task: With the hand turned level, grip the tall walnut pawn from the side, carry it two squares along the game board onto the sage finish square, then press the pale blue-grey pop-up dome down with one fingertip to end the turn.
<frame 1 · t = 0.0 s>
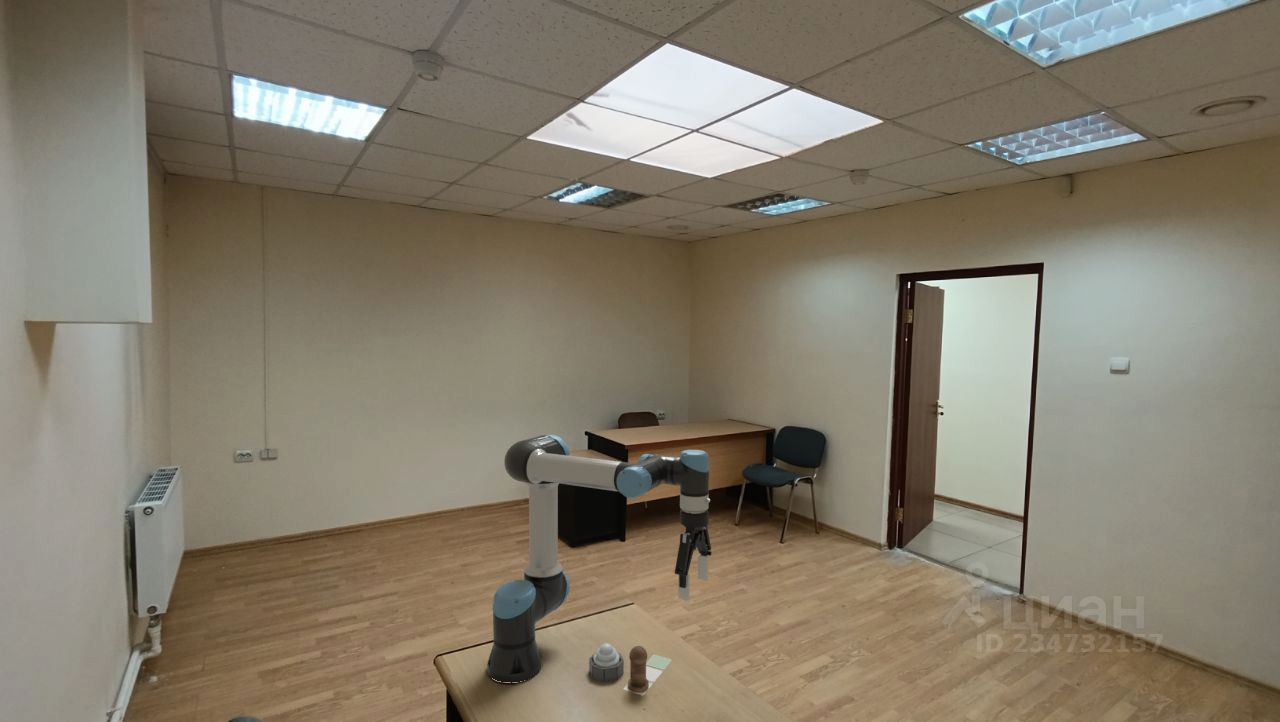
hand: (693, 588, 152), 28 cm above the table, tool pointing down, fingers open, 13 cm apart
dome base: (606, 675, 160), on the table
pop-up dome: (606, 653, 160), point 6 cm above the table, slide at 0.0 cm
game board: (648, 677, 159), on the table
walnut pawn: (638, 686, 154), point 1 cm above the table, touching game board
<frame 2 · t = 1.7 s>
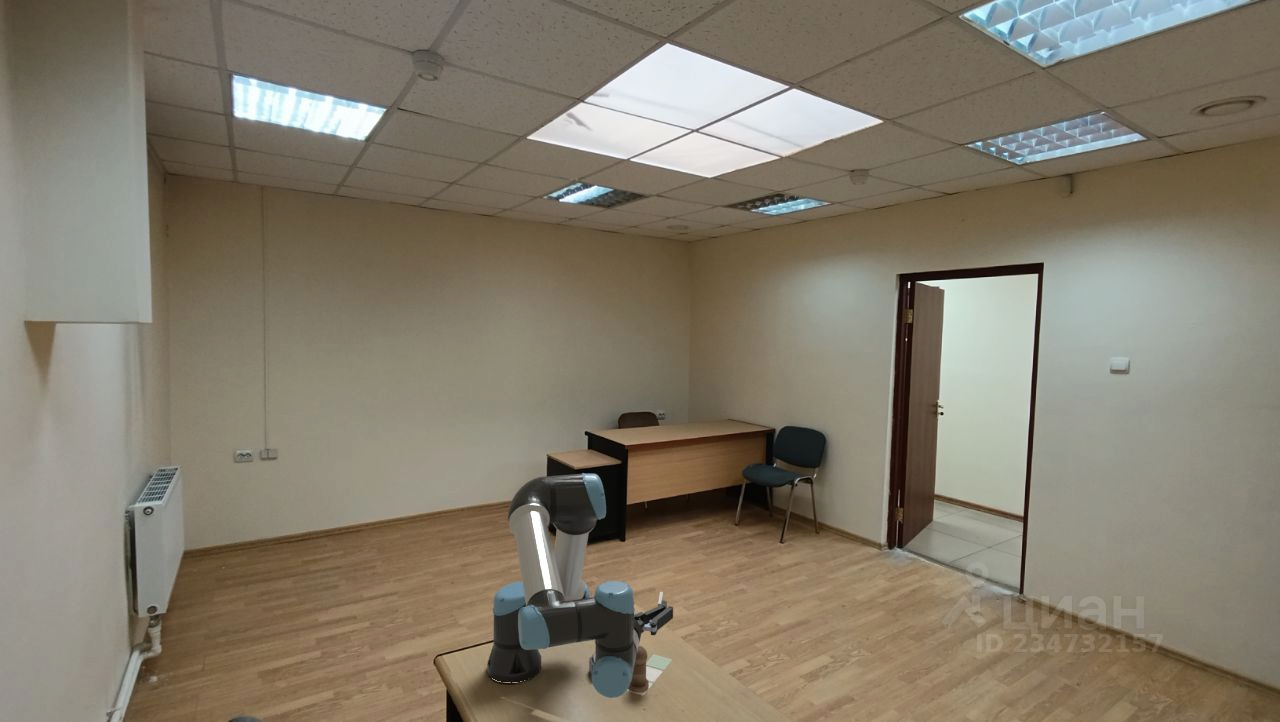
hand: (634, 595, 143), 30 cm above the table, tool horizontal, fingers open, 13 cm apart
nothing on the table moved.
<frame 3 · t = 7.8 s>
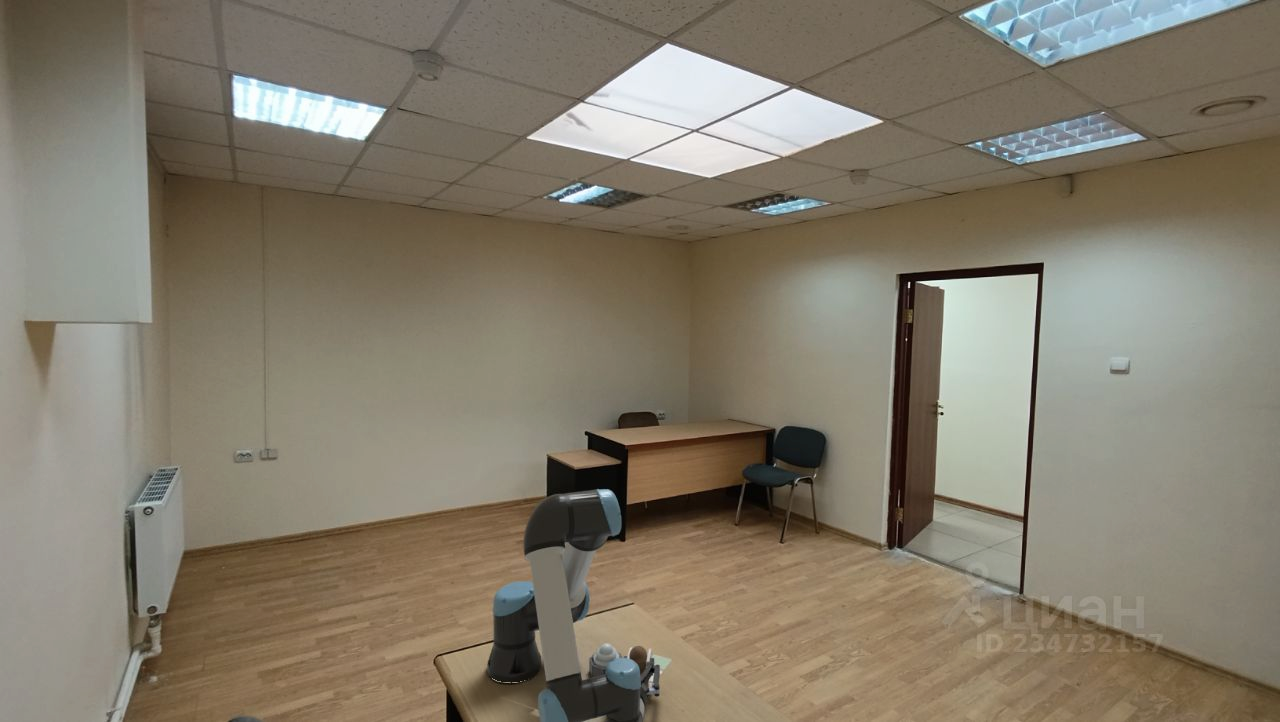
hand: (640, 652, 159), 7 cm above the table, tool horizontal, fingers closed on walnut pawn, 5 cm apart
walnut pawn: (638, 686, 154), point 1 cm above the table, touching game board, gripper
everything else where it was.
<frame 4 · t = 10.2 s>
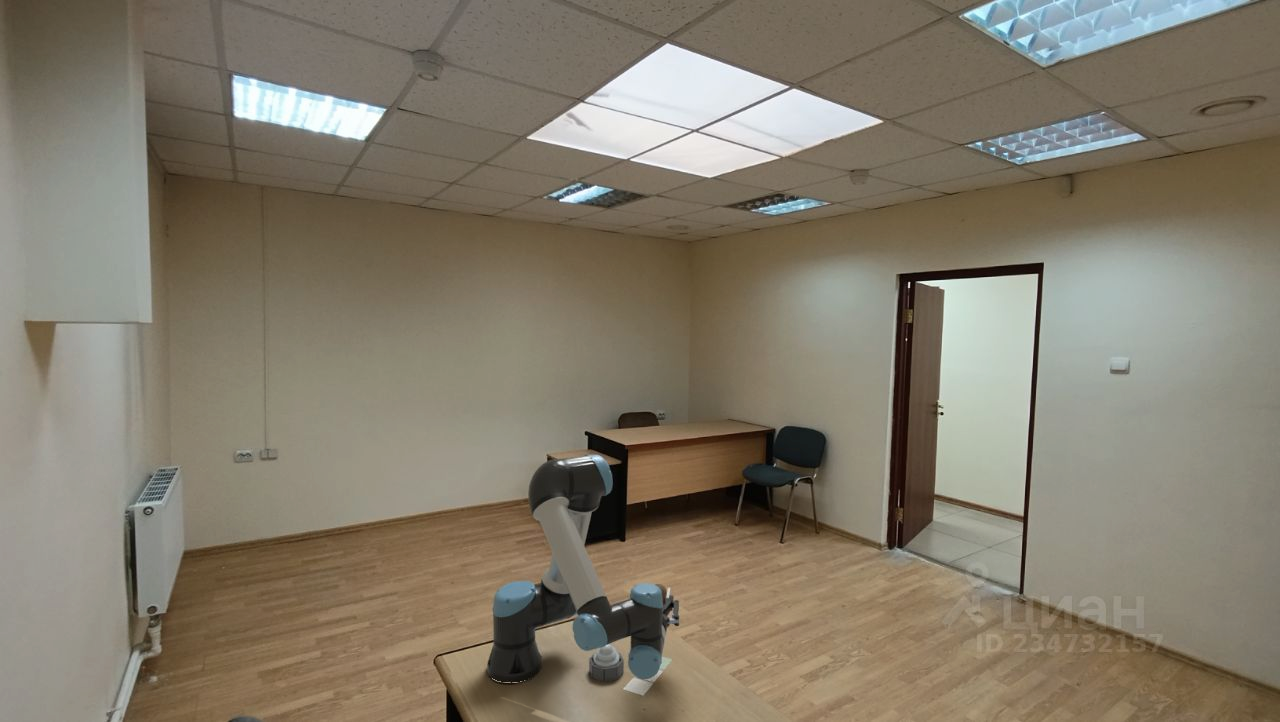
hand: (660, 591, 168), 20 cm above the table, tool horizontal, fingers closed on walnut pawn, 5 cm apart
walnut pawn: (658, 621, 163), point 14 cm above the table, touching gripper
everything else where it was.
when the fingers open (9 cm above the table, at t = 12.8 s): walnut pawn drops 1 cm, resting on game board.
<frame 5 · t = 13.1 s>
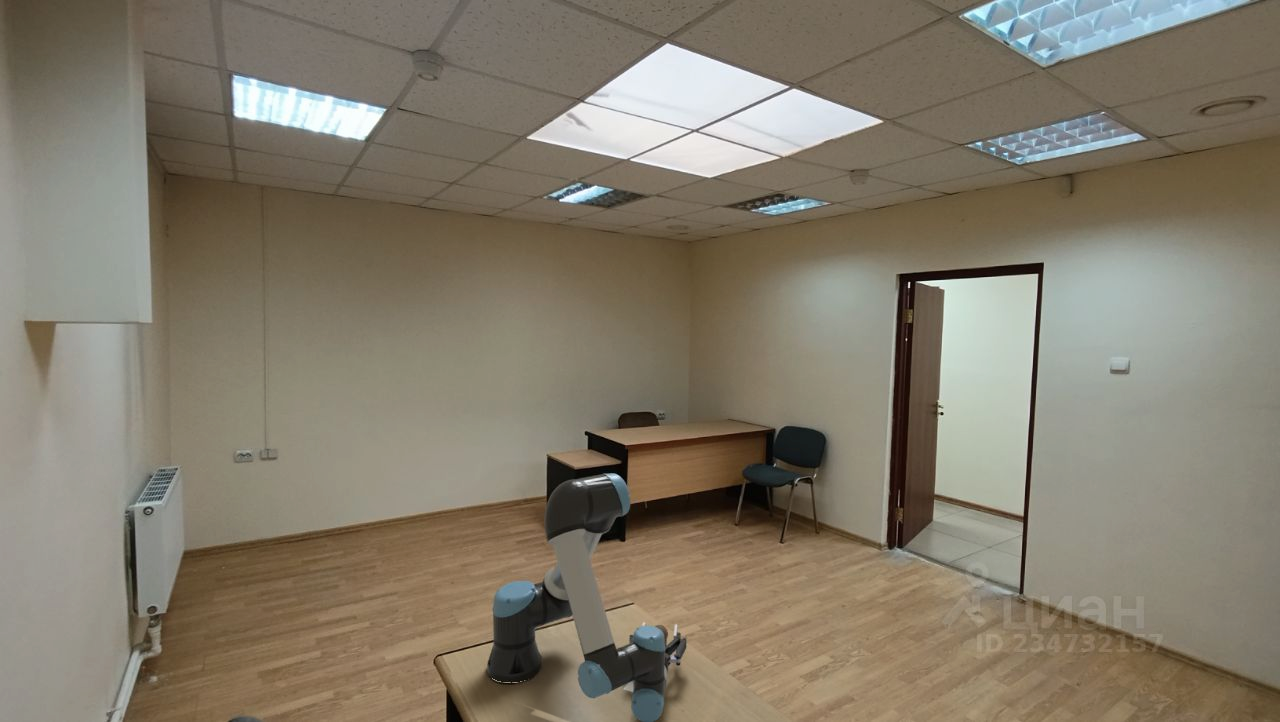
hand: (660, 627, 169), 9 cm above the table, tool horizontal, fingers open, 9 cm apart
walnut pawn: (658, 661, 165), point 1 cm above the table, touching game board
everything else where it was.
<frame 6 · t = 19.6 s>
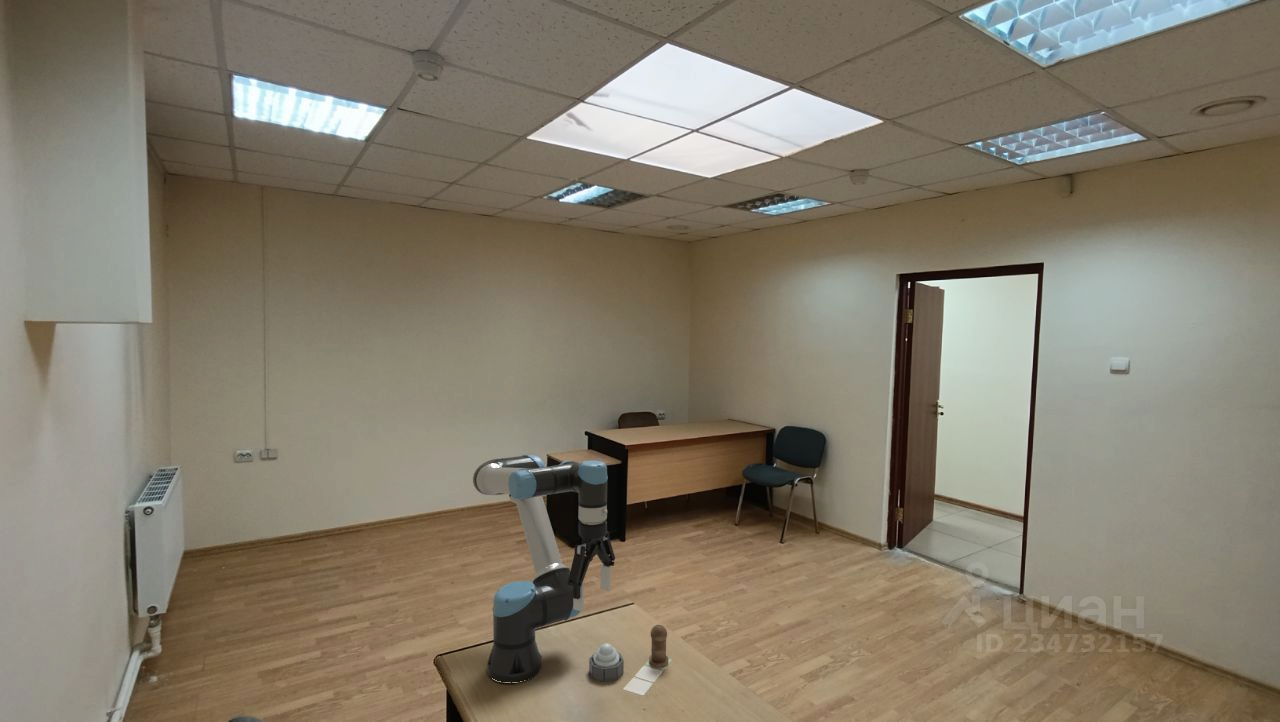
hand: (592, 599, 153), 25 cm above the table, tool pointing down, fingers open, 13 cm apart
nothing on the table moved.
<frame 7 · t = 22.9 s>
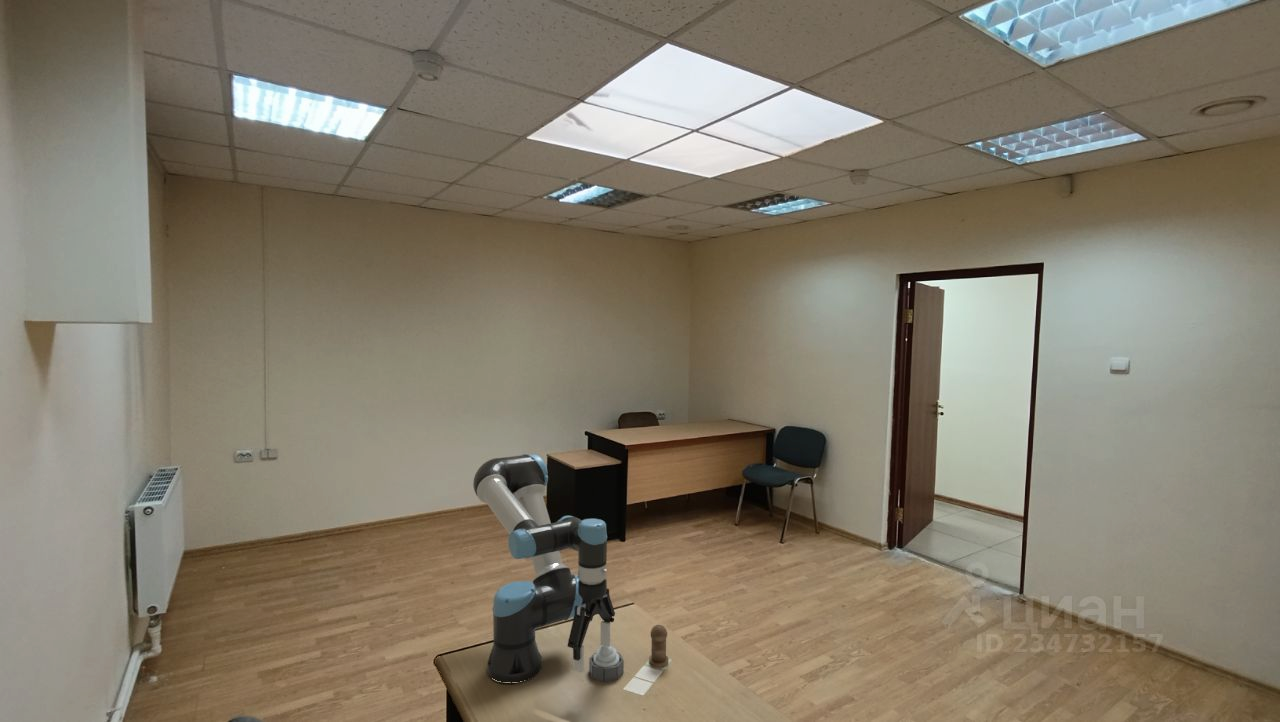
hand: (592, 657, 153), 9 cm above the table, tool pointing down, fingers open, 13 cm apart
pop-up dome: (606, 654, 160), point 6 cm above the table, slide at 0.2 cm, touching gripper
everything else where it was.
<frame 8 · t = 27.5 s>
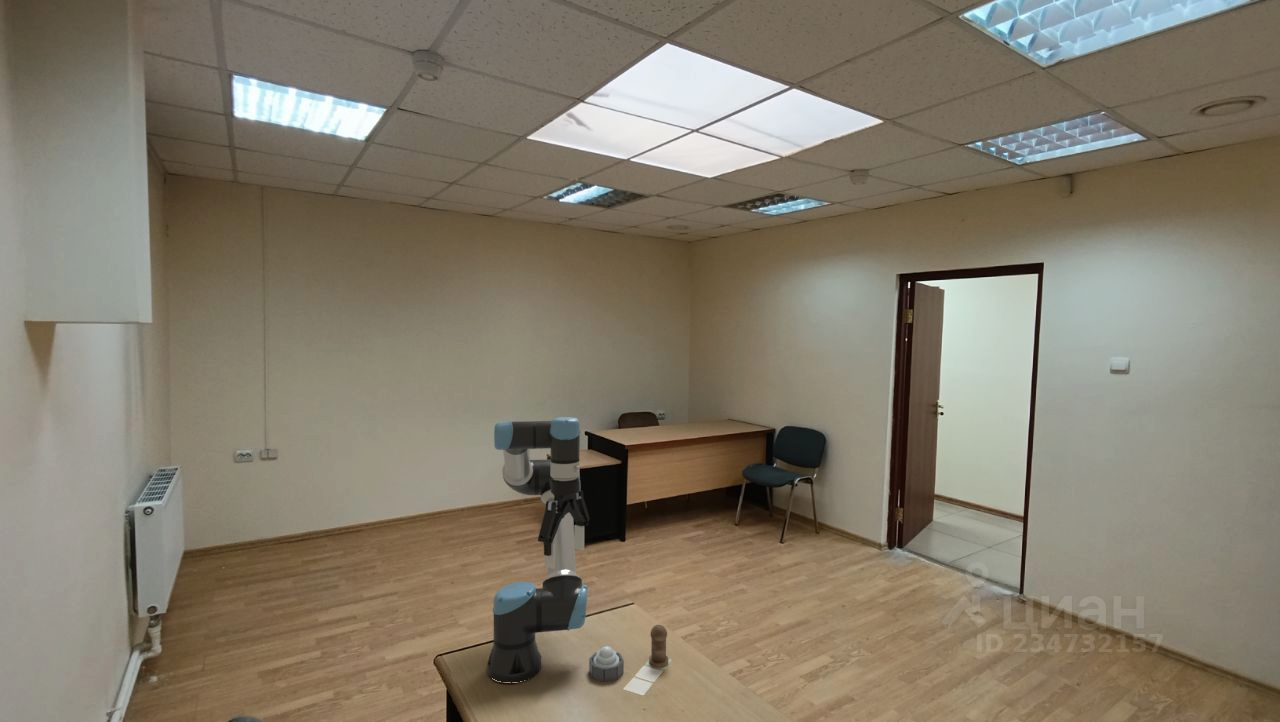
hand: (565, 558, 150), 37 cm above the table, tool pointing down, fingers open, 13 cm apart
pop-up dome: (606, 656, 160), point 5 cm above the table, slide at 0.8 cm
everything else where it was.
at the end: walnut pawn 0.1 cm from the target spot, point 1.0 cm above the table; walnut pawn tilted 0°; pop-up dome slide at 0.8 cm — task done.
